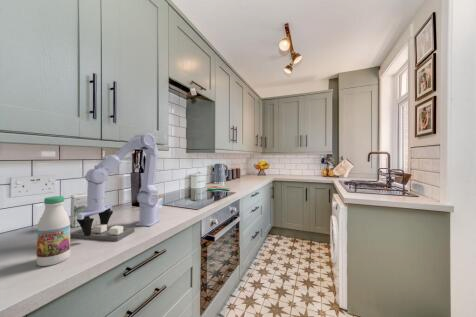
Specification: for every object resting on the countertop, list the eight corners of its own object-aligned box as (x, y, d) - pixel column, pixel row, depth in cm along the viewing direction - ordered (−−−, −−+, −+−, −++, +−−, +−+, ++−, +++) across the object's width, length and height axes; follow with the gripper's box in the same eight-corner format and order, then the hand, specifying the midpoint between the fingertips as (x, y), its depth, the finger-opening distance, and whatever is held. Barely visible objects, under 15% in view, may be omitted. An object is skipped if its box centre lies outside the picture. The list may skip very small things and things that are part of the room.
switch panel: (90, 228, 90) (90, 225, 90) (134, 231, 87) (134, 228, 87) (68, 237, 80) (68, 233, 80) (117, 241, 77) (117, 237, 77)
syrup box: (85, 222, 99) (85, 193, 99) (88, 225, 95) (88, 194, 95) (70, 225, 94) (70, 194, 94) (73, 228, 91) (73, 196, 90)
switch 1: (89, 225, 89) (90, 220, 89) (97, 226, 88) (97, 220, 88) (83, 228, 86) (83, 222, 86) (91, 228, 85) (91, 222, 85)
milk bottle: (36, 260, 63) (37, 196, 63) (68, 252, 68) (69, 193, 68) (36, 270, 57) (36, 200, 57) (71, 260, 63) (71, 197, 62)
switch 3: (115, 231, 82) (115, 225, 82) (123, 232, 82) (123, 226, 82) (109, 234, 79) (109, 228, 79) (117, 234, 79) (117, 228, 79)
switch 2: (99, 229, 84) (99, 223, 84) (106, 230, 84) (106, 224, 83) (93, 232, 81) (93, 226, 81) (101, 233, 81) (101, 226, 81)
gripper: (102, 194, 88) (101, 225, 88) (69, 201, 74) (69, 238, 74) (116, 195, 87) (116, 226, 87) (86, 202, 73) (86, 239, 73)
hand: (95, 231), depth 80 cm, fingers open, 7 cm apart
